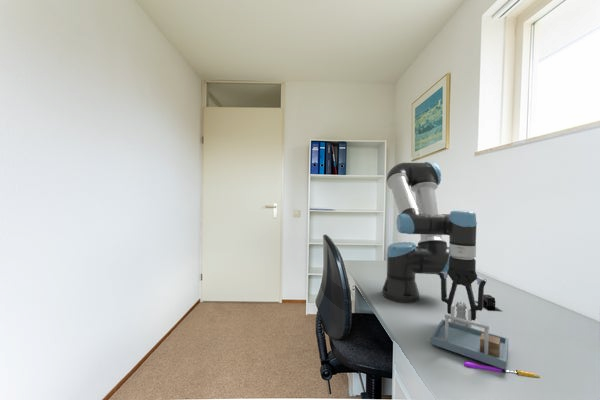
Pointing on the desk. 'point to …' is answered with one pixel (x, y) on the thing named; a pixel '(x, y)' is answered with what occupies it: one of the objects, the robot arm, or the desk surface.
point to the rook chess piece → (461, 313)
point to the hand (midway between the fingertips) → (461, 326)
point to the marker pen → (497, 369)
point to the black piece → (489, 303)
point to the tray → (468, 341)
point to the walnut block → (491, 345)
